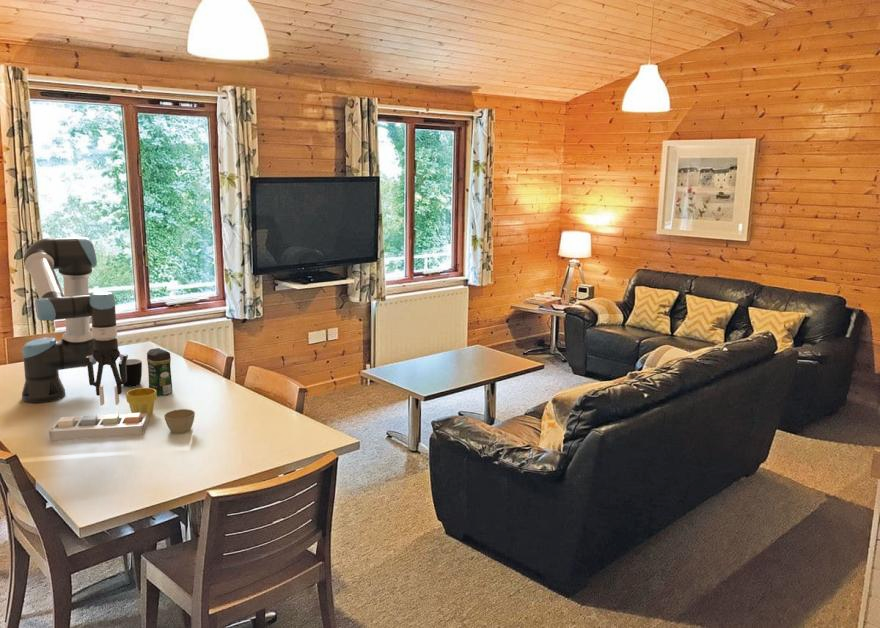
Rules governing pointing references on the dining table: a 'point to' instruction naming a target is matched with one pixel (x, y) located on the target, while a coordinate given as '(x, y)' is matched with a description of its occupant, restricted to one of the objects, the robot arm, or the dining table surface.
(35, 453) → the dining table surface
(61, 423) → the key cream
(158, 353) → the coffee jar
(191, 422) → the flower pot
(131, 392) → the plant pot
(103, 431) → the keypad
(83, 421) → the key slate
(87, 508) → the dining table surface
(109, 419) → the key sage
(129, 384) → the mug
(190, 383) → the dining table surface
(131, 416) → the key terracotta
